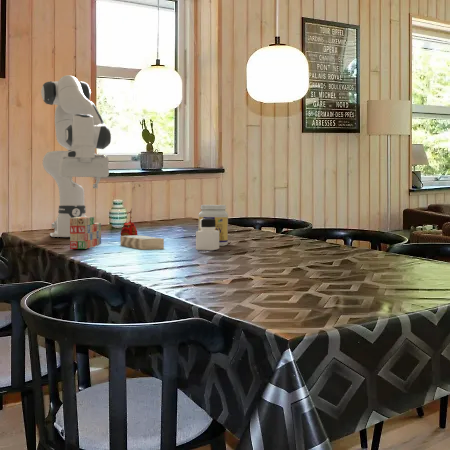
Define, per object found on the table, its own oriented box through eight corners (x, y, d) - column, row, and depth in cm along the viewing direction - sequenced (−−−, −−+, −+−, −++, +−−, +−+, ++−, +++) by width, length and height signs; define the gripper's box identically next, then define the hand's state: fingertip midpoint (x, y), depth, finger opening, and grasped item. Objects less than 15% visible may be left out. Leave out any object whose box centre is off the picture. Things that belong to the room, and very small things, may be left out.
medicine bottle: (219, 249, 254) (219, 218, 253) (213, 250, 247) (213, 218, 246) (202, 248, 256) (202, 217, 255) (195, 249, 249) (195, 218, 249)
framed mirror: (120, 245, 270) (120, 235, 270) (140, 244, 275) (140, 235, 274) (142, 249, 250) (142, 239, 250) (163, 248, 255) (163, 238, 255)
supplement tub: (201, 247, 261) (201, 205, 261) (196, 245, 273) (196, 204, 273) (230, 246, 264) (230, 205, 263) (224, 244, 276) (224, 204, 275)
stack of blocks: (87, 244, 276) (86, 215, 276) (101, 244, 276) (101, 215, 275) (69, 248, 255) (69, 217, 254) (85, 249, 254) (85, 217, 254)
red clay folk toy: (117, 243, 282) (117, 208, 282) (125, 242, 289) (125, 208, 288) (132, 243, 280) (132, 208, 279) (141, 242, 286) (140, 208, 285)
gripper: (105, 155, 271) (106, 188, 272) (56, 153, 261) (57, 188, 261) (111, 154, 266) (111, 188, 266) (61, 152, 255) (61, 188, 256)
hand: (84, 188), depth 264 cm, fingers open, 8 cm apart
